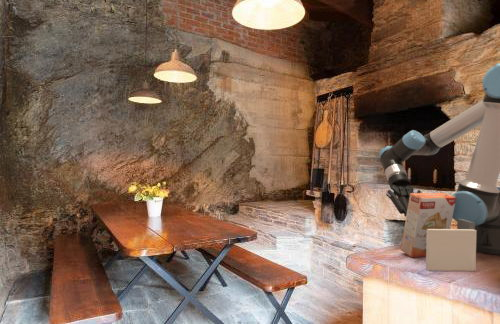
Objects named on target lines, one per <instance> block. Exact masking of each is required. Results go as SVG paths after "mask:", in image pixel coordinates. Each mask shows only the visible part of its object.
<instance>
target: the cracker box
mask: <svg viewBox="0 0 500 324" xmlns="http://www.w3.org/2000/svg"><path fill="white" fill-rule="evenodd" d="M455 201H456V198H455V197H453V196H452V195H450V194H447V193H445V192H421V193H410V197H409V203H408V209H407V215H406V217H405V222H404V226H403V227H404V228H403V232H402V233H403V234H402V240H401V244H400V245H401V246H400V251H402V252H403V253H404V254H406V255H407V256H409V257H410V258H418V257H419V258H420V257H426V243H427V229H451V225H452V221H453V218H452V216H453V212H454V207H455Z"/></svg>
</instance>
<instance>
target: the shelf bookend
mask: <svg viewBox="0 0 500 324" xmlns="http://www.w3.org/2000/svg"><path fill="white" fill-rule="evenodd" d="M456 222H457V223H456V229H455V228H450V229H427V243H426V256H425V269H426V270H427V271H440V272H441V271H443V272H444V271H446V272H447V271H454V272H455V271H457V272H458V271H460V272H462V271H463V272H465V271H466V272H471V271H473V272H475V271H476V270H477V269H476V266H477V264H476V263H477V262H476V261H477V260H476V259H477V251H476V231H477V230H475V223H474V222H471V221H467V220H464V219H457V221H456ZM476 272H477V271H476Z"/></svg>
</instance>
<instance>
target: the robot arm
mask: <svg viewBox="0 0 500 324" xmlns="http://www.w3.org/2000/svg"><path fill="white" fill-rule="evenodd" d="M482 89H483V92H485V93H484V97H483V99H482V100H480V101H479V102H477V103H475V104H474V105H473V106H470V107H469V108H467V109H466V110H464V111H463V112H461V113H460V114H457V115H456V116H454V117H452V118H451V119H449V120H448V121H446V122H445V123H443V124H442V125H439V126H438V127H436V128H435V129H434V130H432V131H429V133H427V134H425V135H423V134H422V133H420V132H419V131H417V130H414V129H412V130H410V131H408V132H407V133H406V134H404V135H403V136H402V137H401V138H400V139H399V140H397V142H396V143H395V144H394V145H393V146H392V145H387V146H384V147H382V148H381V149H380V150H379V152H378V158H379V162H380V164H381V166H382V168H383V171H384V174H385V177H386V179H387V182H388V185H389V188H390V189H388V190H387V192H386V194H385V196H387V197H388V198H389V199H390V201H391V202H392V204H393V205H394V207H395V208H396V210H397V212H398V213H399V214H401V215H402V214H403V215H404V217H405V218H406V215H407V209H408V203H409V197H410V193H422V191H421V190H419V189H418V190H416V189H414V187H413V186H412V184H411V181H410V179H409V176H408V174H407V170H406V169H405V167H404V164H403V163H404V162H405V161H407V160H408V159H409V158H410V157H411V156H433V155H435V154H437V153H438V152H439V151H440V149H441V148H443V147H444V146H446V145H448V144H450V143H452V142H453V141H455V140H458V139H459V138H461V137H463V136H465V135H466V134H467V133H469V132H471V131H473V130H475V129H476V128H478V127H480V130H479V133H478V136H477V140H476V143H475V147H474V150H473V153H472V156H471V161H470V163H469V167H468V169H467V173H466V176H465V178H464V179H462V180H460V181H458V182H459V183H458V185H457V188H456V191H455V192H454V193H453V194H452V195H451V196H453V197H455V198H456V201H455V207H454V212H453V216H452V220H454V221H456V222H457V219H464V220H467V221H471V222H474V223H475V230H477V231H476V252H479V253H482V254H491V255H496V256H497V255H498V256H500V186H497V182H498V180H499V176H500V62H499V63H497V64H495V65H493V66H492V67H490V68H489V69H488V70H487V71H486V72H485V75H483V79H482Z"/></svg>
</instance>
